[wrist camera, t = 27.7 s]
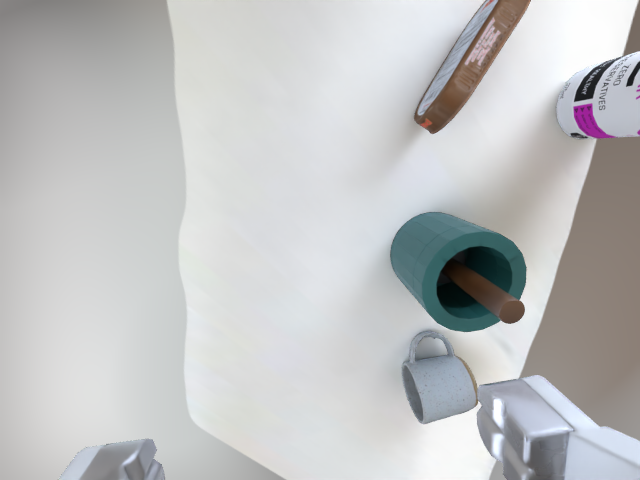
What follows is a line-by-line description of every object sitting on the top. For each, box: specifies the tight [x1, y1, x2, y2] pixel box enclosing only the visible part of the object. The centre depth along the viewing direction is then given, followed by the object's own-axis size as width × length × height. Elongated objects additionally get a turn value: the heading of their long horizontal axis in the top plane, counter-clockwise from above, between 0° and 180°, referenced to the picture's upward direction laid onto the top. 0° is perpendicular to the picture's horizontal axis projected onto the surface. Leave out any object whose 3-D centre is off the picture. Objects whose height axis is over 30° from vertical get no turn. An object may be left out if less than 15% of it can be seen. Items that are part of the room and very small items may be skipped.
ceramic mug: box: [402, 331, 478, 424], centre depth 43 cm, size 11×8×8 cm
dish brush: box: [437, 251, 525, 324], centre depth 34 cm, size 5×5×16 cm
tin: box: [414, 0, 531, 134], centre depth 33 cm, size 15×3×8 cm, turn 150°
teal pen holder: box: [390, 212, 526, 332], centre depth 37 cm, size 11×11×11 cm
